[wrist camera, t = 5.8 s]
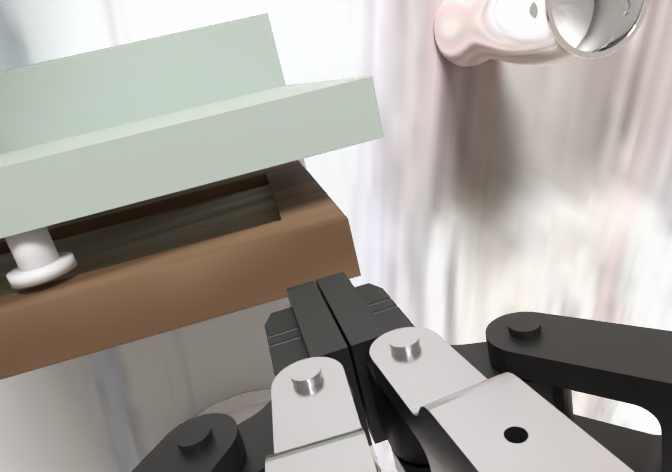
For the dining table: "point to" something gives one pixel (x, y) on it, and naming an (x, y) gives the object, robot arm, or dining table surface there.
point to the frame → (174, 265)
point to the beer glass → (535, 30)
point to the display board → (156, 128)
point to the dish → (251, 409)
